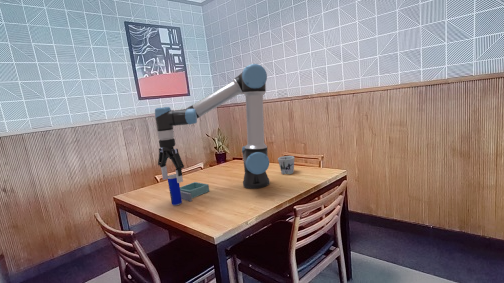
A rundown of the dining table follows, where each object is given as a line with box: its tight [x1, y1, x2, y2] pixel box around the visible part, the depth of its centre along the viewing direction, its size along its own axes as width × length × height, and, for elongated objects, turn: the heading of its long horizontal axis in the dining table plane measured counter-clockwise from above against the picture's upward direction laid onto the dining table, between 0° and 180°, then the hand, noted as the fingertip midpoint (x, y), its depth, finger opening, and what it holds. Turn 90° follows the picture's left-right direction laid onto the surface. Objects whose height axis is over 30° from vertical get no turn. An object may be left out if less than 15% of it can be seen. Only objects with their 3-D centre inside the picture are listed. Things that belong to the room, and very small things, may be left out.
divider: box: [180, 191, 193, 202], centre depth 148 cm, size 16×1×4 cm, turn 47°
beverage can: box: [167, 173, 183, 207], centre depth 140 cm, size 5×5×15 cm
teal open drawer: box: [180, 181, 210, 199], centre depth 155 cm, size 13×13×4 cm
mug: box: [277, 155, 295, 175], centre depth 176 cm, size 10×15×10 cm
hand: (172, 180), depth 139 cm, fingers open, 13 cm apart
